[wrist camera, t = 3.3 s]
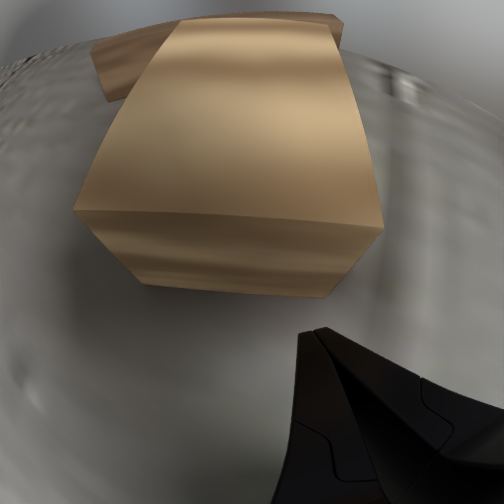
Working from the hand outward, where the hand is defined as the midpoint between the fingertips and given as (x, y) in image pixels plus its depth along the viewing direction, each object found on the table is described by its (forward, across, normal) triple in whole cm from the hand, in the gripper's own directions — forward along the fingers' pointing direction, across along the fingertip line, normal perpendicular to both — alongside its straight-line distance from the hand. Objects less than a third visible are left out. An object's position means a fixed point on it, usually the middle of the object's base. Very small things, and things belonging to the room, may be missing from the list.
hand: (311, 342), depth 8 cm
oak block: (+13, 0, -3) cm, 14 cm away
